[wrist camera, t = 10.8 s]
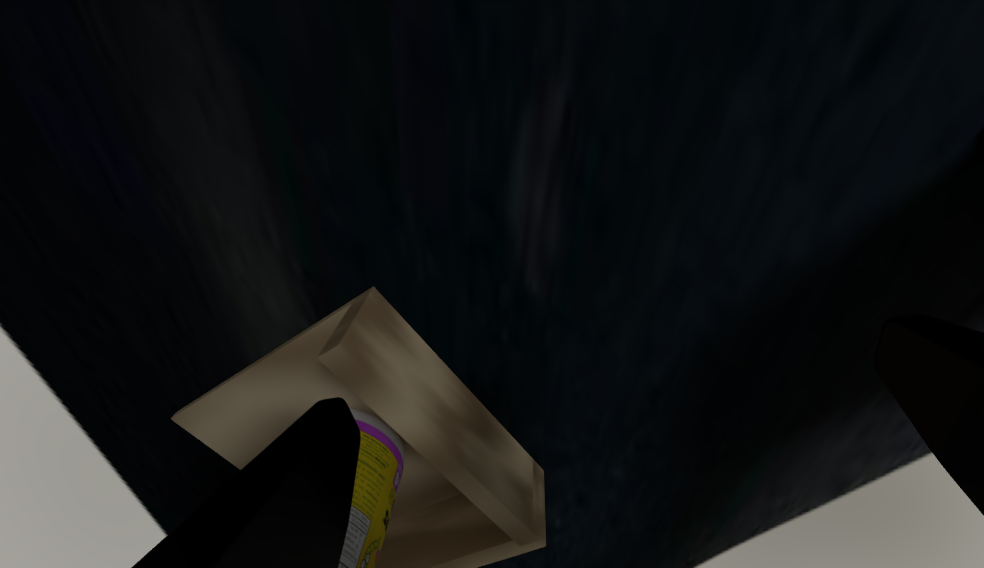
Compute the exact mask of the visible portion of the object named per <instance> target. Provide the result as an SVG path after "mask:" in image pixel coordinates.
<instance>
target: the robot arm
mask: <svg viewBox="0 0 984 568" xmlns="http://www.w3.org/2000/svg"><path fill="white" fill-rule="evenodd" d="M874 363H875V368H876V370H877V372H878V374H879V376H880V377H881V379H882V380H883V382H884V383H885V385H886V386H887V388H888V389H889V390H890V392H891V393H892V395H893V396H894V398H895V399H896V401H897V402H898V404H899V405H900V406H901V408H902V409H903V411H904V412H905V414H906V415H907V417H908V418H909V420H910V421H911V422H912V424H913V425H914V427H915V428H916V430H917V431H918V433H919V434H920V436H921V437H922V438H923V440H924V441H925V443H926V444H927V446H928V447H929V448H930V450H931V451H932V453H933V454H934V455H935V457H936V458H937V459H938V461H939V462H940V463H941V465H942V466H943V467H944V468H945V469H946V471H947V472H948V473H949V475H950V476H951V477H952V478H953V479H954V481H955V482H956V483H957V484H958V485H959V487H960V488H961V489H962V490H963V491H964V493H965V494H966V495H967V496H968V497H969V498H970V500H971V501H972V502H973V503H974V505H976V507H977V508H978V509H979V510H980V511H981V513H982V514H983V515H984V333H982V332H979V331H976V330H973V329H969V328H966V327H963V326H959V325H956V324H953V323H949V322H946V321H943V320H939V319H936V318H933V317H930V316H926V315H922V314H912V315H905V316H898V317H893V318H890V319H888V320H887V321H886V322H885V323H884V325H883V328H882V332H881V335H880V339H879V343H878V346H877V350H876V353H875V358H874ZM360 442H361V434H360V429H359V427H358V425H357V423H356V421H355V419H354V416H353V414H352V412H351V410H350V408H349V406H348V404H347V403H346V401H345V400H344V399H343V398H340V397H336V398H329V399H322V400H320V401H318V402H316V403H315V404H314V405H313V406H312V407H311V408H310V409H309V410H307V411H306V412H305V413H304V414H303V415H302V416H301V417H300V418H298V419H297V420H296V421H295V422H294V423H293V424H292V425H291V426H290V427H288V428H287V429H286V430H285V431H284V432H283V433H282V434H281V435H279V436H278V437H277V438H276V439H275V440H274V441H273V442H272V443H271V444H269V445H268V446H267V447H266V448H265V449H264V450H263V451H262V452H260V453H259V454H258V455H257V456H256V457H255V458H254V459H253V460H252V461H250V462H249V463H248V464H247V465H246V466H245V467H244V468H243V469H241V470H240V471H239V472H238V473H237V474H236V475H235V476H234V477H232V478H231V479H230V480H229V481H228V482H227V483H226V484H225V485H224V486H222V487H221V488H220V489H219V490H218V491H217V492H216V493H215V494H213V495H212V496H211V497H210V498H209V499H208V500H207V501H206V502H204V503H203V504H202V505H201V506H200V507H199V508H198V509H197V510H196V511H194V512H193V513H192V514H191V515H190V516H189V517H188V518H187V519H185V520H184V521H183V522H182V523H181V524H180V525H179V526H178V527H176V528H175V529H174V530H173V531H172V532H171V533H170V534H169V535H168V536H166V537H165V538H164V539H163V540H162V541H161V542H160V543H159V544H157V545H156V546H155V547H154V548H153V549H152V550H151V551H150V552H148V553H147V554H146V555H145V556H144V557H143V558H142V559H141V560H140V561H138V562H137V563H136V564H135V565H134V566H133V567H132V568H338V566H339V562H340V558H341V554H342V550H343V546H344V542H345V538H346V533H347V529H348V524H349V518H350V512H351V506H352V499H353V492H354V485H355V478H356V471H357V464H358V457H359V450H360Z"/></svg>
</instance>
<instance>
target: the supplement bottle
mask: <svg viewBox="0 0 984 568" xmlns="http://www.w3.org/2000/svg"><path fill="white" fill-rule="evenodd" d="M350 410H351V412H352V414H353V416H354V419H355V421H356V423H357V425H358V427H359V429H360V434H361V442H360V450H359V457H358V464H357V471H356V478H355V485H354V492H353V499H352V506H351V512H350V518H349V524H348V529H347V533H346V538H345V542H344V546H343V550H342V554H341V558H340V562H339V566H338V568H376V565H377V562H378V558H379V555H380V552H381V548H382V544H383V541H384V538H385V533H386V530H387V527H388V523H389V520H390V516H391V513H392V509H393V506H394V502H395V499H396V495H397V491H398V488H399V484H400V481H401V477H402V473H403V469H404V464H405V451H404V447H403V444H402V441H401V440H400V438H399V436H398V435H397V434H396V432H395V431H394V430H393V429H392V428H391V427H390V426H389V425H388V424H387V423H385V422H384V421H382V420H381V419H379V418H377V417H375V416H373V415H371V414H369V413H366V412H364V411H361V410H357V409H353V408H350Z"/></svg>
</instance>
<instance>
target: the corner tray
mask: <svg viewBox="0 0 984 568" xmlns="http://www.w3.org/2000/svg"><path fill="white" fill-rule="evenodd" d="M336 397H340V398H343V399H344V400H345V401H346V403H347V404H348V406H349V408H353V409H357V410H361V411H364V412H366V413H369V414H371V415H373V416H375V417H377V418H379V419H381V420H382V421H384V422H385V423H387V424H388V425H389V426H390V427H391V428H392V429H393V430H394V431H395V432H396V434H397V435H398V436H399V438H400V440H401V441H402V444H403V447H404V451H405V464H404V469H403V473H402V477H401V481H400V484H399V488H398V491H397V495H396V499H395V502H394V506H393V509H392V513H391V516H390V520H389V523H388V527H387V530H386V533H385V538H384V541H383V544H382V548H381V552H380V555H379V558H378V562H377V565H376V568H477V567H480V566H484V565H487V564H490V563H493V562H497V561H500V560H503V559H506V558H509V557H513V556H516V555H519V554H522V553H526V552H529V551H532V550H535V549H539V548H542V547H545V546H546V531H545V497H544V470H543V469H542V468H541V467H540V466H539V465H538V464H537V463H536V462H535V461H534V460H533V458H532V457H531V456H530V455H529V454H528V453H527V452H526V451H525V450H524V449H523V448H522V447H521V446H520V444H519V443H518V442H517V441H516V440H515V439H514V438H513V437H512V436H511V435H510V434H509V433H508V431H507V430H506V429H505V428H504V427H503V426H502V425H501V424H500V423H499V422H498V421H497V420H496V418H495V417H494V416H493V415H492V414H491V413H490V412H489V411H488V410H487V409H486V408H485V407H484V405H483V404H482V403H481V402H480V401H479V400H478V399H477V398H476V397H475V396H474V395H473V394H472V392H471V391H470V390H469V389H468V388H467V387H466V386H465V385H464V384H463V383H462V382H461V381H460V379H459V378H458V377H457V376H456V375H455V374H454V373H453V372H452V371H451V370H450V369H449V368H448V367H447V365H446V364H445V363H444V362H443V361H442V360H441V359H440V358H439V357H438V356H437V355H436V354H435V352H434V351H433V350H432V349H431V348H430V347H429V346H428V345H427V344H426V343H425V342H424V341H423V339H422V338H421V337H420V336H419V335H418V334H417V333H416V332H415V331H414V330H413V329H412V328H411V326H410V325H409V324H408V323H407V322H406V321H405V320H404V319H403V318H402V317H401V316H400V315H399V313H398V312H397V311H396V310H395V309H394V308H393V307H392V306H391V305H390V304H389V303H388V302H387V300H386V299H385V298H384V297H383V296H382V295H381V294H380V293H379V292H378V291H377V290H376V289H375V288H374V286H373V287H372V288H370V289H369V290H367V291H365V292H364V293H362V294H361V295H359V296H358V297H356V298H354V299H353V300H351V301H350V302H348V303H347V304H345V305H343V306H342V307H340V308H339V309H337V310H336V311H334V312H333V313H331V314H329V315H328V316H326V317H325V318H323V319H322V320H320V321H318V322H317V323H315V324H314V325H312V326H311V327H309V328H307V329H306V330H304V331H303V332H301V333H300V334H298V335H297V336H295V337H293V338H292V339H290V340H289V341H287V342H286V343H284V344H282V345H281V346H279V347H278V348H276V349H275V350H273V351H272V352H270V353H268V354H267V355H265V356H264V357H262V358H261V359H259V360H257V361H256V362H254V363H253V364H251V365H250V366H248V367H246V368H245V369H243V370H242V371H240V372H239V373H237V374H236V375H234V376H232V377H231V378H229V379H228V380H226V381H225V382H223V383H221V384H220V385H218V386H217V387H215V388H214V389H212V390H210V391H209V392H207V393H206V394H204V395H203V396H201V397H200V398H198V399H196V400H195V401H193V402H192V403H190V404H189V405H187V406H185V407H184V408H182V409H181V410H179V411H178V412H176V413H175V414H174V415H173V416H172V418H171V419H172V420H173V421H174V422H176V423H177V424H178V425H180V426H181V427H182V428H184V429H185V430H187V431H188V432H189V433H191V434H192V435H193V436H195V437H196V438H197V439H199V440H200V441H202V442H203V443H204V444H206V445H207V446H208V447H210V448H211V449H213V450H214V451H215V452H217V453H218V454H219V455H221V456H222V457H223V458H225V459H226V460H228V461H229V462H230V463H232V464H233V465H234V466H236V467H237V468H238V469H240V470H241V469H243V468H244V467H245V466H246V465H247V464H248V463H249V462H250V461H252V460H253V459H254V458H255V457H256V456H257V455H258V454H259V453H260V452H262V451H263V450H264V449H265V448H266V447H267V446H268V445H269V444H271V443H272V442H273V441H274V440H275V439H276V438H277V437H278V436H279V435H281V434H282V433H283V432H284V431H285V430H286V429H287V428H288V427H290V426H291V425H292V424H293V423H294V422H295V421H296V420H297V419H298V418H300V417H301V416H302V415H303V414H304V413H305V412H306V411H307V410H309V409H310V408H311V407H312V406H313V405H314V404H315V403H316V402H318V401H320V400H322V399H329V398H336Z"/></svg>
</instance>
